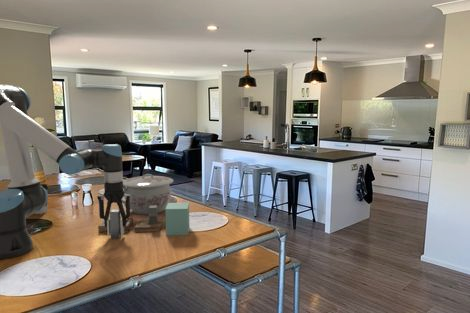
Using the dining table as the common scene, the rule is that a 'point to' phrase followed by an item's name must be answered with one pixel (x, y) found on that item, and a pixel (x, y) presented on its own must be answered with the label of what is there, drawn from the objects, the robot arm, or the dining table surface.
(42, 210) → the coffee cup
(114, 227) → the pin
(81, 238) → the dining table surface
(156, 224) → the board
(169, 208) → the block
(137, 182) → the chamber pot
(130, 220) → the build board
